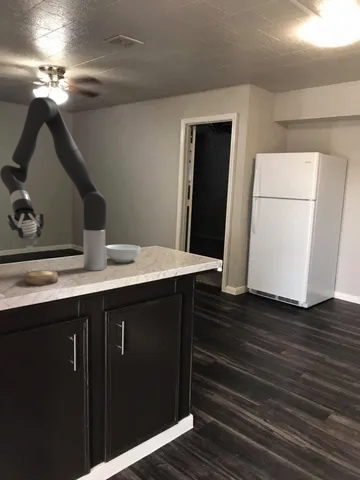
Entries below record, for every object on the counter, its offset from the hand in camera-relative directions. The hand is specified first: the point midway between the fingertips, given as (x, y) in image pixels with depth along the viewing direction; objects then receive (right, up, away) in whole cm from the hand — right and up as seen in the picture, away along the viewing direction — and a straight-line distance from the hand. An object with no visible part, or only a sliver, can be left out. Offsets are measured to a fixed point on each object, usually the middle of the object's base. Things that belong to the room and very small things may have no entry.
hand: (30, 236), depth 153 cm
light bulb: (-1, -6, +2) cm, 6 cm away
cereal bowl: (+30, -12, +38) cm, 50 cm away
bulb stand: (+6, -17, -5) cm, 19 cm away
